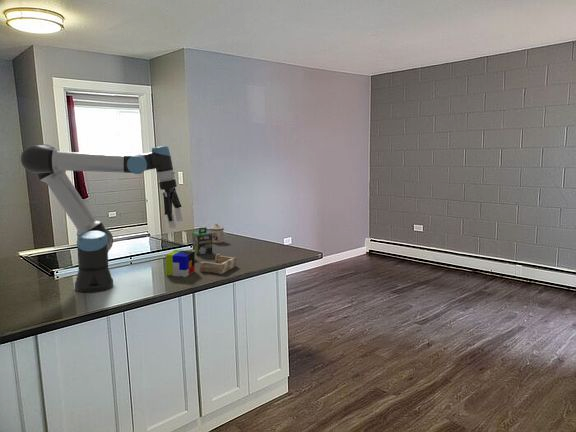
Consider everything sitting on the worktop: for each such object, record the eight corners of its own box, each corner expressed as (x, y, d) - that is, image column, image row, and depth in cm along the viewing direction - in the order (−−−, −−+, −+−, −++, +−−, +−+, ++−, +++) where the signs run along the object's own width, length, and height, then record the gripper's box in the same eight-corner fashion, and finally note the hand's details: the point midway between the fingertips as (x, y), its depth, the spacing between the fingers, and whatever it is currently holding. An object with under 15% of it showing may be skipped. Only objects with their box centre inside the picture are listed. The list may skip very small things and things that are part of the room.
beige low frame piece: (220, 274, 208) (220, 264, 207) (173, 267, 217) (172, 257, 216) (237, 265, 224) (237, 256, 224) (192, 259, 234) (192, 250, 233)
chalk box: (206, 249, 255) (206, 225, 252) (213, 253, 247) (213, 228, 245) (191, 251, 250) (191, 226, 247) (197, 255, 242) (197, 229, 240)
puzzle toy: (185, 277, 203) (185, 256, 201) (166, 275, 205) (165, 254, 203) (194, 271, 212) (194, 251, 211) (175, 269, 214) (175, 249, 213)
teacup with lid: (206, 241, 274) (206, 224, 272) (215, 239, 282) (215, 222, 280) (221, 244, 268) (221, 226, 267) (230, 242, 276) (230, 224, 274)
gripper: (168, 182, 186) (178, 229, 190) (181, 175, 210) (189, 217, 215) (150, 185, 186) (161, 232, 191) (166, 177, 210) (175, 219, 215)
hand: (176, 224), depth 203 cm, fingers open, 13 cm apart
